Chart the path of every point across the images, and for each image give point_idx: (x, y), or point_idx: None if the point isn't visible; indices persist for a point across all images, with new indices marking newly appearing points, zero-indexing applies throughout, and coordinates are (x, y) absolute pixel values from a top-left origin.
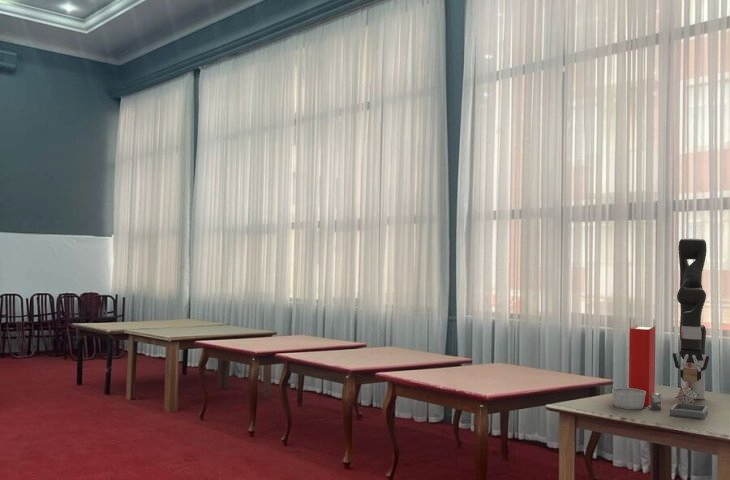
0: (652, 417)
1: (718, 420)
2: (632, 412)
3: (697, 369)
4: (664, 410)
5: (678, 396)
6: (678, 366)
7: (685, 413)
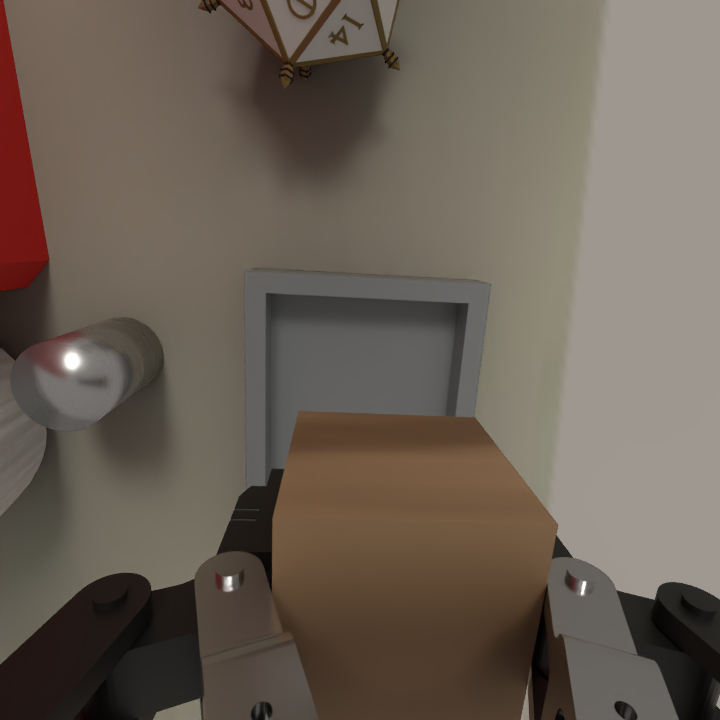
0: None
1: None
2: (40, 589)
3: (529, 686)
4: (193, 393)
5: (228, 5)
6: (154, 714)
7: None
